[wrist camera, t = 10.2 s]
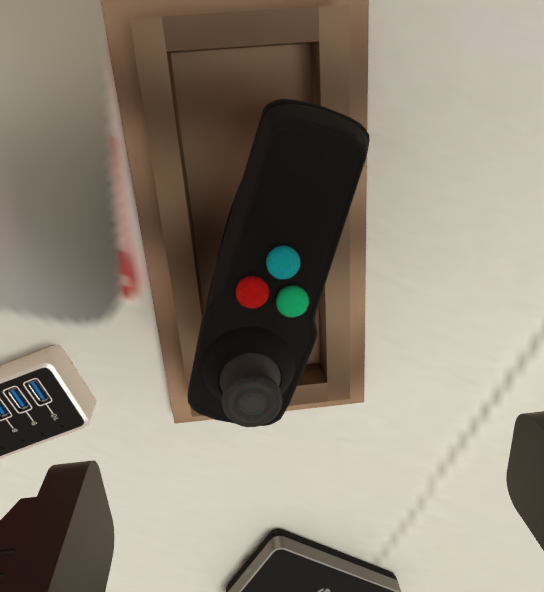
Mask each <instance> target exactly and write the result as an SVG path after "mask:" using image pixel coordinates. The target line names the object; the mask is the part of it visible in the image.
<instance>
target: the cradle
mask: <svg viewBox="0 0 544 592" xmlns="http://www.w3.org/2000/svg"><path fill="white" fill-rule="evenodd" d="M101 5H102V10H103V16H104V22H105V28H106V33H107V39H108V45H109V51H110V56H111V62H112V68H113V74H114V79H115V85H116V91H117V96H118V102H119V108H120V114H121V119H122V125H123V131H124V137H125V142H126V148H127V154H128V159H129V165H130V171H131V177H132V182H133V188H134V194H135V200H136V205H137V211H138V217H139V222H140V228H141V234H142V240H143V245H144V251H145V257H146V263H147V268H148V274H149V280H150V285H151V291H152V297H153V303H154V308H155V314H156V320H157V326H158V331H159V337H160V343H161V348H162V354H163V360H164V366H165V371H166V377H167V383H168V389H169V394H170V400H171V406H172V411H173V417H174V423H183V422H192V421H201V420H210V419H212V418H209V417H206V416H203V415H200V414H199V413H197V412H196V411H194V410H193V409H192V408H191V407H190V405H189V403H188V397H187V394H188V388H189V383H190V377H191V372H192V367H193V362H194V357H195V352H196V346H197V341H198V336H199V331H200V326H201V321H202V318H203V315H204V312H205V307H206V302H207V297H208V292H209V288H210V283H211V279H212V276H213V272H214V268H215V264H216V260H217V256H218V252H219V248H220V244H221V240H222V236H223V233H224V229H225V226H226V222H227V219H228V215H229V212H230V209H231V206H232V203H233V200H234V198H235V195H236V192H237V190H238V187H239V184H240V182H241V180H242V177H243V174H244V171H245V167H246V164H247V161H248V157H249V154H250V151H251V148H252V144H253V141H254V138H255V134H256V131H257V128H258V124H259V121H260V118H261V115H262V111H263V108H264V107H265V106H266V105H267V104H268V103H270V102H272V101H274V100H277V99H294V100H299V101H303V102H308V103H312V104H317V105H321V106H323V107H326V108H328V109H331V110H333V111H336V112H338V113H341V114H343V115H346V116H348V117H351V118H352V119H354V120H356V121H357V122H359V123H361V124H362V125H363V126H364V128H365V129H366V130H367V93H368V5H369V0H101ZM366 182H367V157H366V160H365V163H364V166H363V170H362V173H361V176H360V179H359V182H358V185H357V188H356V191H355V194H354V197H353V200H352V203H351V206H350V210H349V213H348V216H347V219H346V222H345V225H344V228H343V231H342V234H341V237H340V240H339V243H338V247H337V250H336V253H335V256H334V259H333V262H332V265H331V268H330V271H329V274H328V277H327V280H326V283H325V287H324V290H323V293H322V296H321V299H320V302H319V305H318V308H317V311H316V316H315V321H316V327H317V333H318V334H317V338H316V341H315V345H314V348H313V350H312V352H311V355H310V357H309V359H308V362H307V364H306V366H305V369H304V371H303V373H302V376H301V378H300V380H299V383H298V385H297V387H296V390H295V392H294V394H293V397H292V399H291V401H290V404H289V406H288V408H287V409H286V411H290V410H299V409H308V408H317V407H326V406H334V405H343V404H352V403H361V402H364V359H365V270H366Z"/></svg>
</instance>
